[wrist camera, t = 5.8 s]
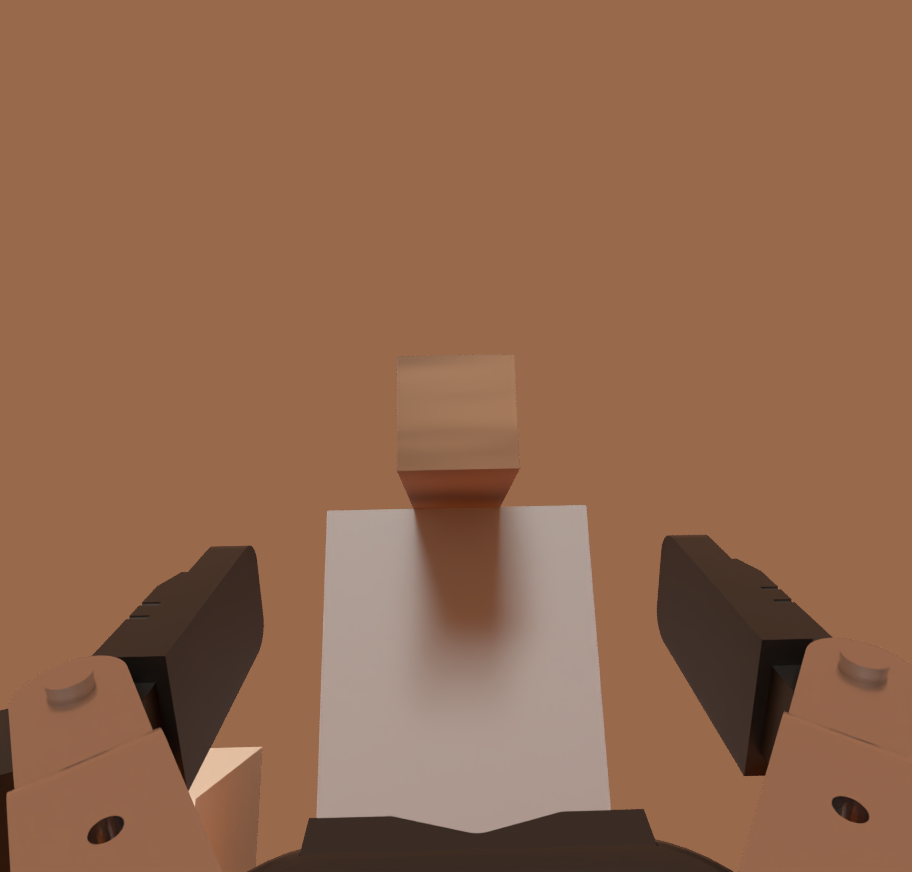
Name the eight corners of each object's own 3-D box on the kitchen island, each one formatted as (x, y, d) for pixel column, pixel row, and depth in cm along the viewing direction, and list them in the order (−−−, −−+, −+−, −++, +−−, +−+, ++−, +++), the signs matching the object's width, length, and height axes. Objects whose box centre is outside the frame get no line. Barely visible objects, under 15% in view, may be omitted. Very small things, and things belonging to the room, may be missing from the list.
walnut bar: (427, 540, 42) (427, 485, 43) (483, 539, 42) (481, 484, 44) (396, 470, 19) (397, 356, 20) (519, 468, 19) (513, 354, 20)
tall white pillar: (364, 1100, 34) (372, 542, 43) (570, 1093, 35) (538, 538, 43) (292, 1508, 19) (327, 510, 27) (666, 1493, 19) (585, 505, 28)
